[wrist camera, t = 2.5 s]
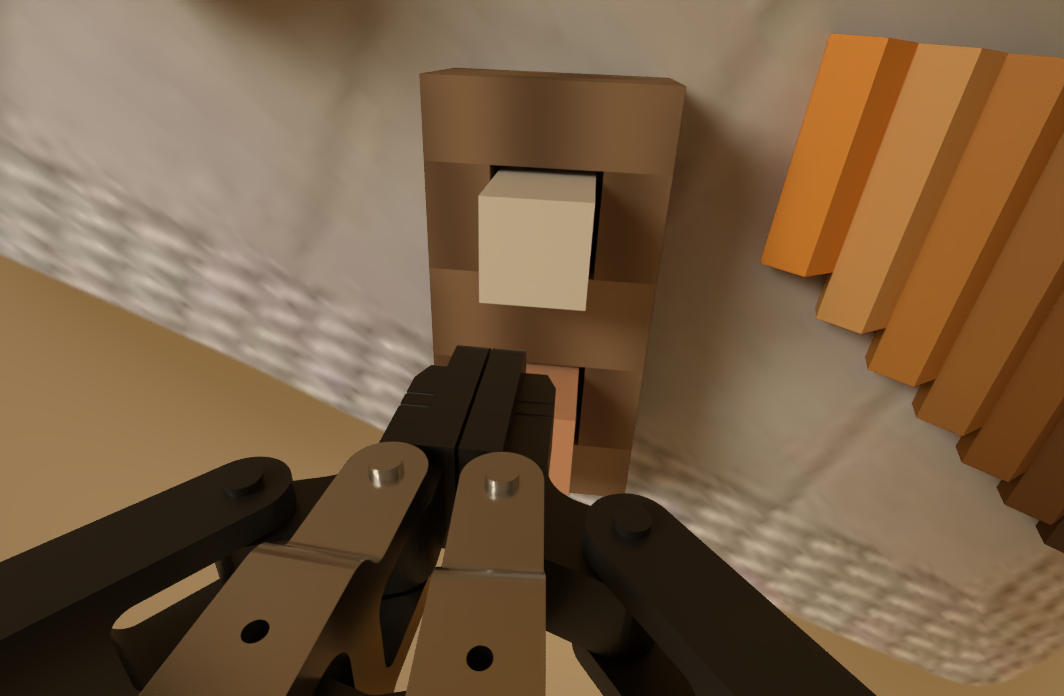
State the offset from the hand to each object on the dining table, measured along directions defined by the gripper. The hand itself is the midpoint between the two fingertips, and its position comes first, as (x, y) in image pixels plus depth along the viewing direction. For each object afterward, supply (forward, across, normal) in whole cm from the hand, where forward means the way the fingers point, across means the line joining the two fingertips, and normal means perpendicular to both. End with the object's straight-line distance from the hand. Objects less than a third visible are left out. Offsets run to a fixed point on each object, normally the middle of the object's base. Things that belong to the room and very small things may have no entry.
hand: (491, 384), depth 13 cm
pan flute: (+20, -23, +6) cm, 31 cm away
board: (+19, 0, +4) cm, 19 cm away
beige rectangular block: (+14, 0, 0) cm, 14 cm away
